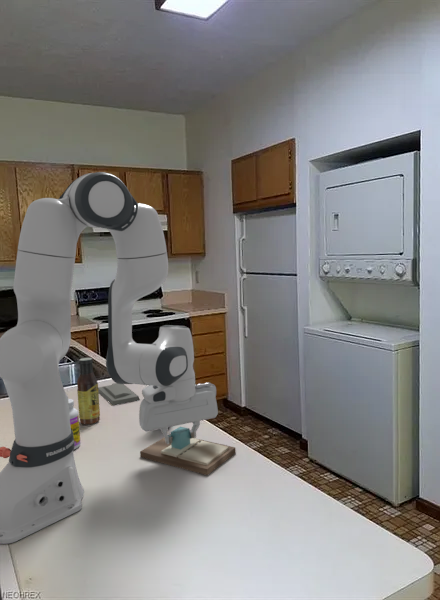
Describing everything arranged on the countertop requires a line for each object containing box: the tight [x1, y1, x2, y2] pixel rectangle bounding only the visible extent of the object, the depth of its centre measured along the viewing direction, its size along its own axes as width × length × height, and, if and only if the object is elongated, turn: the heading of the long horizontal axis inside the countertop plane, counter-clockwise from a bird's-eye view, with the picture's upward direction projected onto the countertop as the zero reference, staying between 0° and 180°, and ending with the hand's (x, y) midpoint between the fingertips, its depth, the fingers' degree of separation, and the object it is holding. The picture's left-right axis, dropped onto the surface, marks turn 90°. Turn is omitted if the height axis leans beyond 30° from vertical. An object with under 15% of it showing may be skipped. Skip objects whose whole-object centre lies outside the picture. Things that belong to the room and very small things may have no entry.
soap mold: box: [98, 382, 141, 406], centre depth 169 cm, size 10×20×4 cm, turn 29°
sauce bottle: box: [76, 357, 101, 425], centre depth 143 cm, size 7×6×20 cm
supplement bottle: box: [68, 398, 81, 451], centre depth 126 cm, size 7×7×13 cm
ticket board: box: [139, 433, 237, 476], centre depth 118 cm, size 13×20×2 cm, turn 58°
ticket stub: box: [161, 426, 201, 457], centre depth 119 cm, size 10×5×5 cm, turn 148°
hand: (180, 440), depth 119 cm, fingers closed on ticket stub, 5 cm apart
